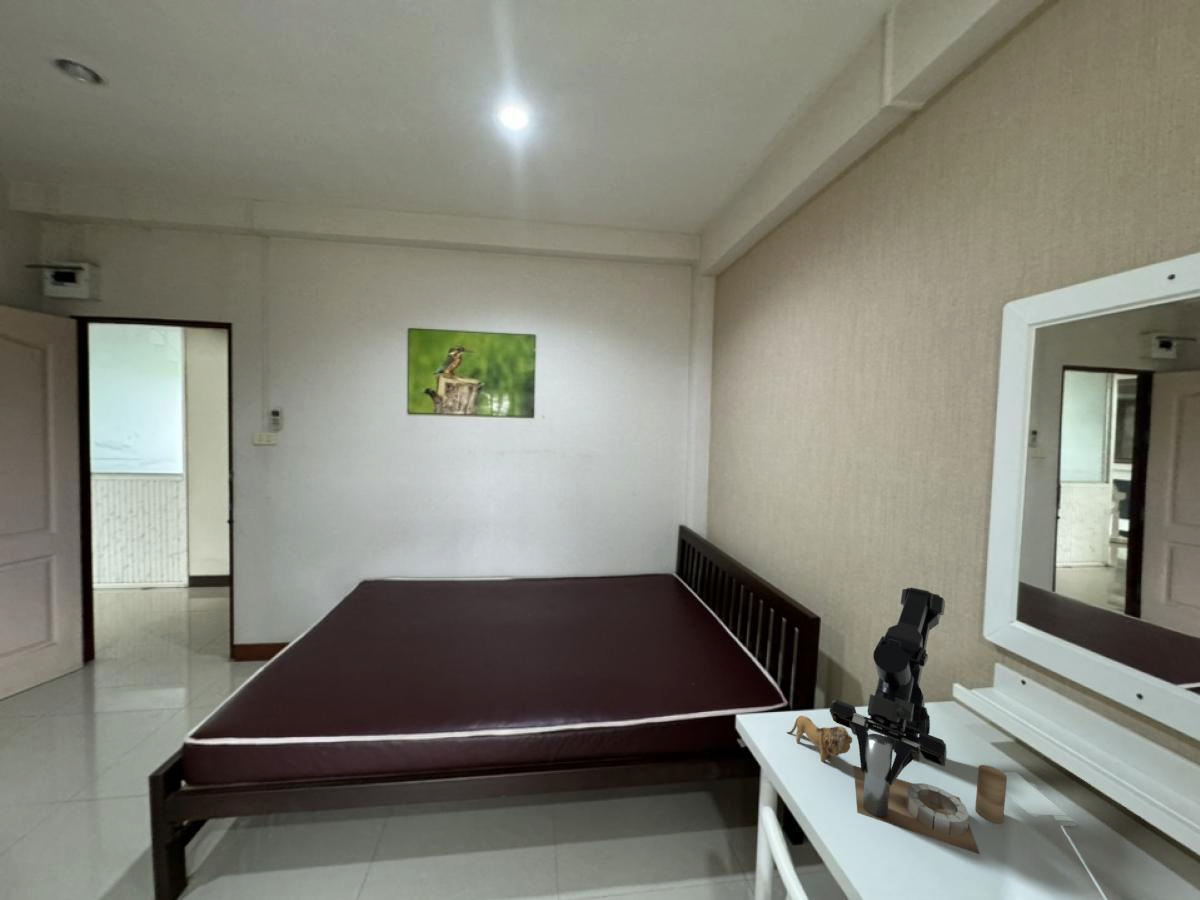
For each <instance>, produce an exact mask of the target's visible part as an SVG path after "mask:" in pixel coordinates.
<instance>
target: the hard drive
mask: <svg viewBox="0 0 1200 900" xmlns="http://www.w3.org/2000/svg"><path fill="white" fill-rule="evenodd" d="M1002 772H1003V773H1004V774H1005V775H1006V777H1007V782H1006V794H1005V795H1007V796H1008V797H1009V798H1010V799H1011V800H1012V801H1014V802H1015V803H1016V804H1017V805H1018V806H1020V808H1022V809H1023V810H1024V811H1025V812H1026V813H1027V814H1029V815H1031V816H1033V817H1039V815H1045V816H1046V815H1048V816H1053V817H1054V819H1055V821H1056V822H1057V823H1058V825H1059V827H1060V826H1063V827H1076V826H1077V821H1075V820H1074V819H1073V818H1071V817H1070V816H1069V814H1067V813H1066V812H1064V810H1062V809H1061V808H1060V807H1058V805H1056V804H1055V803H1053V802H1052V801H1051V800H1050V799H1049V798H1047V797H1046V796H1045V795H1044V794H1042V792H1040V791H1038V790H1037V789H1036V788H1034V787H1033V786H1032V785H1031V784H1030V783H1029V782H1028V781H1027V780H1026V779H1025V778H1023V777H1022V776H1021V775H1020V774H1018V772H1014V771H1013V772H1011V771H1002Z"/></svg>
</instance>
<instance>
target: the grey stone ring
mask: <svg viewBox="0 0 1200 900" xmlns="http://www.w3.org/2000/svg"><path fill="white" fill-rule="evenodd" d="M954 796H955V795H953V794H951V793H950V792H948V791H946V790H945V789H942V788H939V787H937V786H934V785H931V784H928V783H923V782H922V783H920V782H919V783H913V784H912V785H910V786H909V787H908V788H907V796H906V804H907V808H908V811H909V812H910V813H911V814H912V815H913V816H914V817H915V818H916V820H918V821H919V822H920V823H922V824H924V825H925V826H927V827H928V828H930V829H932V830H934V831H936V832H939V833H942V834H945V835H948V836H949V835H950V836H962V835H963V834H964V833H965V832H966V831H967V830H968V823H969V817H970V815H969V812H968V809H967V807H966V805H964V803H962V802H960V801H961V800H960V801H959V800H958V799H957V798H956V797H957V796H956V797H954ZM922 802H929V803H932V804H935V805H938V806H940V807H942V808H943V809H945V810H947V811H948V812H949V813H950V814H951V815H945V814H941V813H938V812H935V811H933V810H932V809H930V808H928V807H927V806H925V805H924V804H923V803H922Z"/></svg>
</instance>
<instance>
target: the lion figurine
mask: <svg viewBox="0 0 1200 900" xmlns="http://www.w3.org/2000/svg"><path fill="white" fill-rule="evenodd" d="M796 729H797V730H796ZM795 731H796V733H795V735H797V736H796V738H795V739H796V744H798V745H801V739H802V737H803V735H804V734H805V735H806V737H807V738H808V740H809V741H810V742H811V743H812V744H813V745H814V746H815V747H818V748H819V752H820V754H819V755H820V762H821V763H824V764H825V763H826V762H827V761H826V760H827V759H830V758H831V756H832V757H834V758H835V757H837V756H838V755H840V754H841V755H842V754H846V753H848V752H849V750H850V749H851V744H852V743H853V737H852V736H851V735H850V734H849V733H848V730H847V728H846V727H844V726H843V725H841V726H840V725H839V726H838V725H836V726H833V727H821V728H820V727H819V726H817V725H816V724H815V723H814V722H813V721H812V719H810V718H809V717H807V716H804V715H799V716H797V718H796V719H795V721H794V724H793V727H792V729H791V730H790V731H787V732H786V734H788V735H792V734H793V733H794V732H795Z"/></svg>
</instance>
